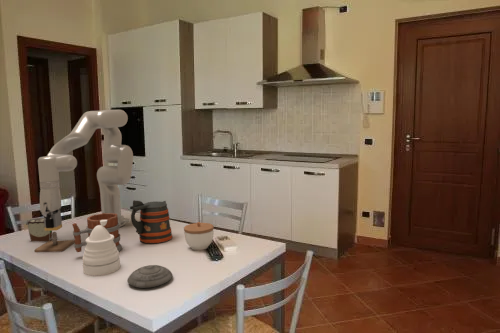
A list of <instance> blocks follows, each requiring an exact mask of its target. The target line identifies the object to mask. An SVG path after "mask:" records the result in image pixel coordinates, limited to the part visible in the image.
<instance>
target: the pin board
mask: <svg viewBox="0 0 500 333" xmlns="http://www.w3.org/2000/svg"><path fill="white" fill-rule="evenodd" d="M74 244H75V240H74V239H72V240H71V239H67V240H66V239H65V240H62V239H61V240H58V233H57V232H56V231H52V241H48V242H43V244H41V245H40V246H38V247H36V248H35V249H34V253H52V252H53V253H54V252H55V253H57V252H64V251H66V250H67V249H68V248H70V247H71V246H73V245H74Z"/></svg>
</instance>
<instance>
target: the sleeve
mask: <svg viewBox="0 0 500 333" xmlns="http://www.w3.org/2000/svg"><path fill="white" fill-rule="evenodd" d="M47 214H49V215H50V213H47ZM43 218H44V226H45V231H52V232H55V231H59V230H60V229H61V228H63V220H62V211H60V212H53V216H52V219H53V220H54V228H46V221H45V217H44V216H43Z"/></svg>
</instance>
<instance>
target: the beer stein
mask: <svg viewBox="0 0 500 333" xmlns="http://www.w3.org/2000/svg"><path fill="white" fill-rule="evenodd" d="M167 205H168V204H167V200H163V201H148V202H142V201H141V200H132V205H130V206H129V209H130V210H132V211H131V214H130V222H131V224H132V225H133V227H134V228H135V233H137V234H138V235H139V237H138V238H139V241H140V242H141V243H144V244H159V243H160V244H161V243H165V242H168V241H170V240H172V238H173V233H172V228H171V224H170V213H169V208H168V206H167ZM138 211H139V212H140V215H139V221H138V220H137V219H136V214H137V212H138Z"/></svg>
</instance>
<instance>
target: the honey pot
mask: <svg viewBox="0 0 500 333" xmlns="http://www.w3.org/2000/svg"><path fill="white" fill-rule="evenodd" d="M100 224H101V225H98V226H96V227H95V228H94V229H93V230H92V232H91V234H90V236H89V237H88V236H87V238H85V241H84V242H86V243H87V245H85V247H84V252H83V255H82V269H83V270H82V271H83V274H85V275H86V276H93V277H94V276H95V277H96V276H105V275H108V274H112V273H114V272H117V271H118V270H119V269H120V268H121V259H120V251H119V252H118V250H117V247H116V244H115V243H114V241H113V239H114V235H112V234H109V232H108V231H107V230H106V228H105V227H103V226H105V225H106V224H107V220H101V221H100Z"/></svg>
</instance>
